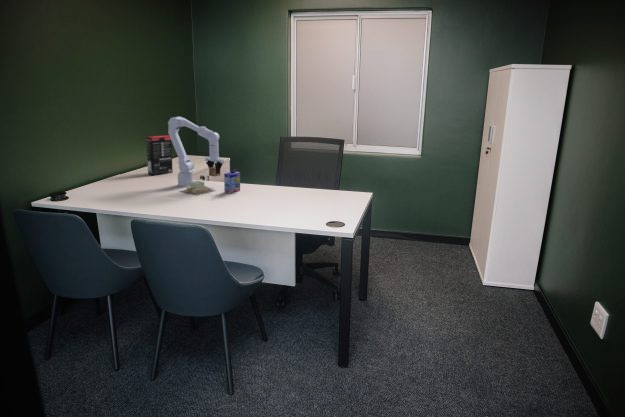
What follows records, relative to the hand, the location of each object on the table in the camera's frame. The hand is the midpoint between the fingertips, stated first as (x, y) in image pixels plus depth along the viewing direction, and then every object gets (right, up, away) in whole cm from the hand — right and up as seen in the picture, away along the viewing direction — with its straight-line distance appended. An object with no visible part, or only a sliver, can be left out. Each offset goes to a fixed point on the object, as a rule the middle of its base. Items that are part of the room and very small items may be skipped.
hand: (214, 173), depth 283 cm
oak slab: (-9, -12, -10) cm, 17 cm away
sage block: (-8, -9, -10) cm, 16 cm away
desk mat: (-9, -12, -10) cm, 18 cm away
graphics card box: (-48, +3, +40) cm, 62 cm away
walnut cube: (0, -1, 0) cm, 2 cm away
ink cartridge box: (+13, -13, -8) cm, 20 cm away
